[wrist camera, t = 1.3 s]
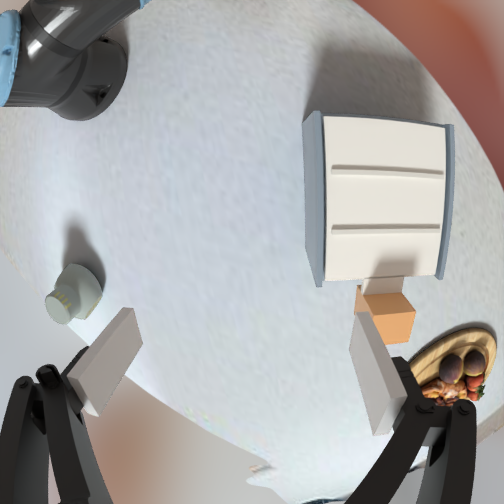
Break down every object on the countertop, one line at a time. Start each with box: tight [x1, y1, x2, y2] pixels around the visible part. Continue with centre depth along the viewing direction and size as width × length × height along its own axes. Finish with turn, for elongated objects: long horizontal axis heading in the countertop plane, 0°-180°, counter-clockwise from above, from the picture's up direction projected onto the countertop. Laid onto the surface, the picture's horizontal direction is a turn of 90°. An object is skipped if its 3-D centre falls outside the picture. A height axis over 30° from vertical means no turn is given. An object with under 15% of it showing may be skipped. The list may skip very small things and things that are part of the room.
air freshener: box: [45, 264, 102, 325], centre depth 43 cm, size 11×8×10 cm
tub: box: [302, 111, 455, 287], centre depth 32 cm, size 18×16×13 cm
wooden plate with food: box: [409, 328, 496, 406], centre depth 46 cm, size 32×32×8 cm
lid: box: [322, 116, 446, 345], centre depth 27 cm, size 23×14×7 cm, turn 3°
